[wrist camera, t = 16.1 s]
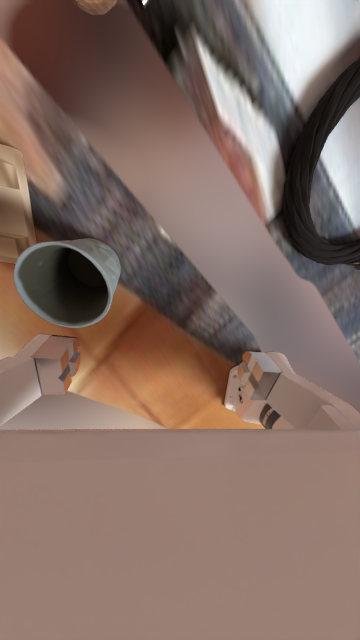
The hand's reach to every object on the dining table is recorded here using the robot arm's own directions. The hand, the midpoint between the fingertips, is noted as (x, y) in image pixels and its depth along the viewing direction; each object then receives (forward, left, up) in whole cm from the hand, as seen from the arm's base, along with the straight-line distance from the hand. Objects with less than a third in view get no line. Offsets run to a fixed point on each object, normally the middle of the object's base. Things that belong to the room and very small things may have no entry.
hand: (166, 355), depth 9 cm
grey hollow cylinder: (-3, +10, -27) cm, 29 cm away
